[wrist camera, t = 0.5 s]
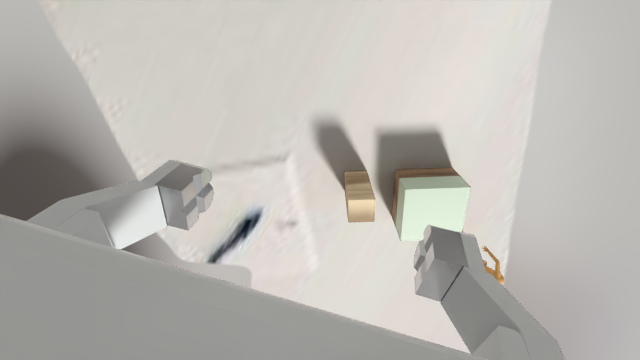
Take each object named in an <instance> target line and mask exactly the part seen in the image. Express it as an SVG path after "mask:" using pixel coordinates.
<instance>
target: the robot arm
mask: <svg viewBox="0 0 640 360" xmlns="http://www.w3.org/2000/svg"><path fill="white" fill-rule="evenodd" d="M211 180H212V174H211V171H210V170H209V169H206V168H202V167H199V166H195V165H192V164H188V163H183V162H180V161H176V160H169V161H168V162H166V163H165V164H163V165H162V166H161V167H159V168H158V169H157V170H155V171H154V172H153V173H151V174H150V175H148V176H147V177H146V178H144V179H143V180H142V181H138V180H136V181H132V182H128V183H124V184H121V185H117V186H113V187H109V188H105V189H101V190H97V191H93V192H90V193H86V194H82V195H78V196H74V197H71V198H67V199H63V200H60V201H58V202H57V203H55V204H53V205H52V206H50V207H49V208H47V209H46V210H44V211H42V212H40V213H39V214H37V215H36V216H34V217H32V218H31V219H29V220H28V221H26V222H25V221H22V220H19V219H15V218H12V217H8V216H5V215H2V214H0V360H565V358H564V356H563V354H562V351H561V349H560V347H559V344H558V342H557V340H556V339H554V338H553V336H551V334H550V333H549V332H548V331H547V330H546V329H545V328H544V327H543V326H542V325H541V324H540V323H539V322H538V321H537V320H536V319H535V318H534V317H533V316H532V315H531V314H530V313H529V312H528V311H527V310H526V309H525V308H524V307H523V306H522V305H521V304H520V303H519V302H518V301H517V300H516V299H515V298H514V297H513V296H512V295H511V294H510V293H509V292H508V291H507V290H506V289H505V288H504V286H503V285H502V284H501V283H500V282H499V281H498V280H497V279H496V278H495V277H494V276H493V275H492V274H490V273H486V270H485V266H484V263H483V260H482V257H481V253H480V250H479V247H478V244H477V240H476V237H475V236H474V235H472V234H467V233H463V232H457V231H453V230H448V229H444V228H440V227H436V226H432V225H427V227H426V228H425V230H424V232H423V235H424V239H423V240H421V241H419V243H418V245H417V248H416V251H415V255H414V268H415V269H416V271H417V274H416V276H415V294H417V295H420V296H423V297H427V298H430V299H433V300H436V301H440V302H441V305H442V306H443V308H444V310H445V311H446V313H447V315H448V316H449V318H450V320H451V321H452V323H453V324H454V326H455V328H456V329H457V331H458V333H459V334H460V336H461V338H462V339H463V341H464V343H465V344H466V346H467V348H468V349H469V351H470V353H471V354H469V353H465V352H462V351H459V350H455V349H452V348H449V347H445V346H442V345H439V344H435V343H432V342H429V341H425V340H422V339H418V338H415V337H412V336H408V335H405V334H402V333H398V332H395V331H392V330H388V329H385V328H382V327H378V326H375V325H372V324H368V323H365V322H361V321H358V320H355V319H351V318H348V317H345V316H341V315H338V314H335V313H331V312H328V311H324V310H321V309H318V308H314V307H311V306H308V305H304V304H301V303H298V302H294V301H291V300H288V299H284V298H281V297H277V296H274V295H271V294H267V293H264V292H261V291H257V290H254V289H251V288H247V287H244V286H241V285H237V284H234V283H230V282H227V281H224V280H220V279H217V278H213V277H210V276H207V275H204V274H200V273H196V272H193V271H190V270H187V269H183V268H180V267H177V266H173V265H170V264H167V263H163V262H160V261H157V260H153V259H149V258H146V257H143V256H140V255H136V254H133V253H130V252H126V251H123V250H120V249H122V248H124V247H126V246H128V245H130V244H132V243H134V242H136V241H138V240H140V239H142V238H144V237H146V236H149V235H151V234H153V233H155V232H157V231H159V230H161V229H163V228H165V227H167V225H169V226H173V227H177V228H181V229H185V230H189V229H190V228H191V227H192V226H193V225H194V224H195V223H196V222H197V220H198V219H199V214H200V213H202V212H205V211H206V210H207V209H208V208H209V207H210V205H211V202H212V200H213V195H214V192H213V187H212V186H211V185H210V183H209V182H210V181H211Z"/></svg>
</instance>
